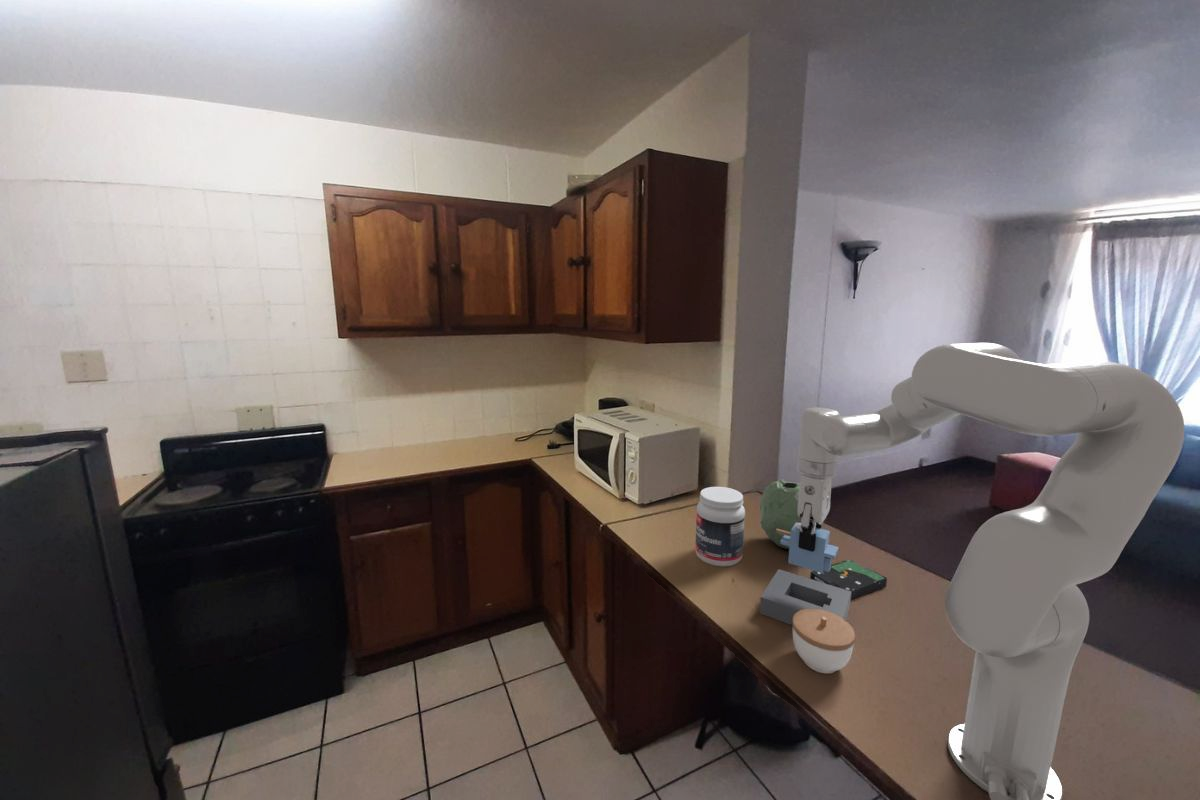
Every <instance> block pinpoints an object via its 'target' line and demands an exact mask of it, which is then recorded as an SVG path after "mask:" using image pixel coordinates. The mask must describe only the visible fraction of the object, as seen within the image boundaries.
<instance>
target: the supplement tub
mask: <svg viewBox="0 0 1200 800" xmlns="http://www.w3.org/2000/svg"><path fill="white" fill-rule="evenodd" d="M697 503H698V504H697V506H696V518H695V519H696V521H695V525H696V526H695V542H694V543H695V548H694V551H695V553H696V556H697V557H698V558H699V559H700V560H701V561H702V562H704V563H707V564H709V565H712V566H717V567H731V566H734V565H736V564H738V563H740V561H741V560H742V559H743V556H744V555H743V552H744V537H745V536H744V534H745V518H746V509H745V507H744V506H743V505H744V495H743V493H742V492H740V491H738V489H737V490H736V489H733V488H730V487H725V486H710V487H709V486H708V487H705V488H703V489H701V491H700V493H699V502H697Z"/></svg>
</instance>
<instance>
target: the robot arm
mask: <svg viewBox="0 0 1200 800" xmlns="http://www.w3.org/2000/svg"><path fill="white" fill-rule="evenodd" d="M890 395H891V396H890V399H891V404H890V405H888V406H885V407H883V408H882V409H879V410H877V411H874V412H872V413H861V414H853V415H843V416H842V415H841V414H840V413H839V411H837V410H836V409H833V408H832V409H831V408H827V407H817V406H815V407H807V408H806V409H804V410H803V411H802V413H801V417H800V419H801V420H800V430H799V431H800V432H799V441H798V454H797V463H796V465H797V466H796V467H797V468H796V471H797V472H798V473H799V474H801V475H800V476H801V477H800V482H799V483H800V490H799V499H798V513H797V515H798V518H799V519H801V518H802V520H801V527H800V533H799V544H798V547H799V548H801V549H804V550H808V551H811V552H814V550H815V541H816V534H815V527H816V528H820V529H822V528H821V525H820V524H821V523H822V522H823V523H824V522H825V520H826V519H825V518H827V516H828V515H829V512H830V509H831V498H832V497H831V495H832V479H833V478H834V477H836V475H837V465H838V456H840V457H844V456H845V457H846V456H852V455H859V454H866V453H874V452H880V451H884V450H888V449H890V448H893V447H897V446H898V445H900V444H903V443H906V442H909V441H911V440H913V439H915V438H918V437H919V436H921V435H923V434H924V433H926V432H928V430H929V429H930V428H932V427H934V426H936V425H939V424H941V423H943V422H946V421H947V422H948V420H951V419H954V418H956V417H958V416H961V415H963V416H966V417H969V418H971V419H974V420H978V421H980V422H981V421H982V422H984V423H987V424H991V425H994V426H997V427H999V428H1003V429H1006V430H1009V431H1013V432H1017V433H1018V434H1019V433H1020V434H1025V435H1030V436H1037V437H1038V436H1039V437H1060V436H1065V435H1071V434H1077V436H1076V438H1075V440H1074V442H1073V443H1072V444H1071V446H1070V447H1069V448H1068V450H1066V452H1064V454H1063V455H1062V456H1061V457H1060V458H1059V460H1058V461H1057V462H1056V464H1055V466H1054V467H1053V469H1052V471H1051V473H1050V475H1049V478H1048V479H1047V481H1046V483H1045V485H1044V487H1043V488H1042V490H1041V491H1040V493H1039V494H1038V496H1037V498H1036V499H1035V500H1034V501H1033V502H1032V503H1030V504H1028V505H1026V506H1023V507H1021V508H1017V509H1011V510H1009V511H1004V512H1002V513H998V514H995V515H994V516H992V517H991V518H989V519H987V520H986V521H985V522H984V523H983V524H981V526H979V528H978V529H977V531H976V532H975V533H974V535H973V536H972V538H971V540H970V542H969V544H968V546H967V547H966V550H965V552H964V554H963V556H962V558H961V560H960V562H959V564H958V567H957V569H956V571H955V572H954V575H953V576H952V579H951V581H950V583H949V585H948V588H947V591H946V594H945V601H944V607H945V614H946V618H947V620H948V623H949V625H950V627H951V628H952V630H953V632H954V633H955V635H956V637H958V638H959V639H960V640H961V641H962V642H963V644H965V645H966V646H968V647H969V648H970V649H972V650H974V651H975V655H974V661H973V666H972V672H971V673H972V674H971V680H970V686H969V692H968V698H967V705H966V712H965V718H964V723H963V724H958V725H956V726H954V727H953V728H952V729H951V730H950V732H949V734H948V738H947V746H948V750H949V753H950V756H951V758H952V759H953V761H954V762H955V763H956V766H958V767H959V768H960V770H961V771H962V772H963V773H964V774H965V775H966V776H967V777H968V779H970V780H971V781H972V782H974V783H975V784H976V785H977V786H979V788H981V789H982V790H984V791H986V792H987V793H988V795H989V799H990V800H1063V798H1062V797H1063V786H1062V784H1061V781H1060V779H1059V777H1058V776H1057V774H1056V772H1055V771H1054V769H1052V763H1053V758H1054V754H1055V753H1054V752H1055V749H1056V744H1057V739H1058V733H1059V727H1060V725H1061V724H1060V723H1061V719H1062V713H1063V710H1064V709H1063V708H1064V703H1065V699H1066V696H1067V692H1068V687H1069V681H1070V678H1071V674H1072V670H1073V667H1074V663H1075V660H1076V658H1077V656H1078V654H1079V651H1080V649H1081V647H1082V644H1083V642H1084V639H1085V637H1086V634H1087V632H1088V628H1089V625H1090V609H1089V606H1088V605H1089V604H1088V602H1087V600H1086V598H1085V596H1084V594H1083V592H1082V591H1081V589H1080V588H1079V587H1078V585H1080V584H1083V583H1085V582H1088V581H1091V580H1094V579H1097V578H1099V577H1101V576H1103V575H1104V574H1106V573H1108V572H1109V571H1110V570H1111V569H1112V568H1113V567H1114V565H1115V563H1116V562H1117V561H1118V559H1119V557H1120V555H1121V553H1122V551H1123V550H1124V548H1125V546H1126V545H1127V543H1128V542H1129V540H1130V539H1131V537H1132V536H1133V534H1134V532H1135V530H1136V529H1137V528H1138V526H1139V525H1140V523H1141V521H1142V520H1143V519H1144V517H1145V516H1146V513H1147V511H1148V510H1149V508H1150V505H1151V504H1152V502H1153V501H1154V499H1155V497H1156V496H1157V494H1158V493H1159V491H1160V489H1161V488H1162V486H1163V485H1164V483H1165V482H1166V480H1167V478H1168V477H1169V476H1170V473H1171V472H1172V470H1173V469H1174V467H1175V465H1176V463H1177V461H1178V459H1179V457H1180V454H1181V452H1182V449H1183V445H1184V441H1185V422H1184V420H1185V419H1184V417H1183V413H1182V411H1181V408H1180V405H1179V404H1178V402H1177V400H1176V399H1175V398H1174V397H1173V395H1172V394H1171V392H1170V391H1169V390H1168V389H1167V388H1166V387H1165V386H1164V385H1162V383H1160V382H1159V381H1158V380H1157V379H1155V378H1153V377H1152V376H1151V375H1149V374H1147V373H1145V372H1144V371H1142V370H1140V369H1138V368H1135V367H1133V366H1129V365H1127V364H1124V363H1118V362H1114V361H1103V360H1101V361H1100V360H1090V361H1089V360H1088V361H1087V360H1085V361H1072V362H1071V361H1070V362H1060V363H1058V362H1057V363H1045V364H1044V363H1038V362H1037V363H1036V362H1032V361H1025V360H1022V359H1021V357H1020V356H1019V355H1018V354H1017V353H1016V352H1015V351H1014V350H1013V349H1011V348H1009V347H1007V346H1004V345H1001V344H998V343H993V342H992V343H991V342H966V343H950V344H949V343H947V344H942V345H938V346H936V347H933V348H931V349H929V350H928V351H926V352H924V353H923V354H922V355H921V356H920V357H919V358H918V359H917V361H916V362H915V364H914V365H913V368H912V371H911V376H910V377H908V378H906V379H904V380H902V381H900V382H899V383H897V384H895V386H894V387H893V389H892V392H891V394H890ZM811 526H812V527H811Z"/></svg>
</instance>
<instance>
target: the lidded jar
mask: <svg viewBox="0 0 1200 800" xmlns="http://www.w3.org/2000/svg"><path fill="white" fill-rule="evenodd" d="M792 624H793V625H792V642H793V646H794V648H795V650H796V653H797V654H798V655H799V656H798V657H800V658H801V659H802V661H803V662H804V664H805V665H806V666H808V667H809V668H810V669H811V670H813V671H815V672H817V673H820V674H826V675H827V674H834V673H835V672H836V671H840V670H842V669H843V668H844V667H845V666H847V664H848V663H849V662H850V659H851V656H852V654H853V651H854V650H853V649H854V646H855V645H854V644H855V641H856V633H855V630H854V628H853V627H852V626H851V624H850V623H849V622H848V621H847V620H846V621H845V620H844V619H842V618H841V617H839V616H837V615H835V614H833V613H831V612H828V611H824V610H820V609H803V610H800V611H798V612H797V613H795V614H794V616H793V620H792Z"/></svg>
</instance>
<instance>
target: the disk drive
mask: <svg viewBox="0 0 1200 800" xmlns="http://www.w3.org/2000/svg"><path fill="white" fill-rule="evenodd" d="M809 579H812V580H815V581H819V582H822V583H825V584H828V585H832V586H835V587H838V588H841V589H845V590H848V591H851V600H854V599H855V598H858V597H861V596H864V595H865V594H869V593H871V592H875V591H876V590H880V589H882V588H886V587H887V582H888V578H887V577H886V576H884V575H882V574H881V573H879V572H876V571H874V570H873V569H871V568H869V567H866V566H864V565H862V564H860V563H857V562H856V561H855V560H854V559H847V560H841V561H840V562H837V563H834V564H831V569H830V571H829V572H826V571H823V573H819V572H816V571H813V570H811V571H810V577H809Z"/></svg>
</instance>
